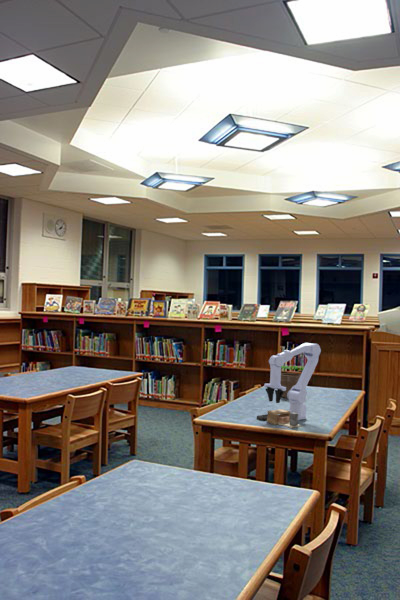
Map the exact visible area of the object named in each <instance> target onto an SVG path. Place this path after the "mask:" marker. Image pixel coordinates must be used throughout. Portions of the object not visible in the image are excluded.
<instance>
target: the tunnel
mask: <svg viewBox="0 0 400 600" xmlns="http://www.w3.org/2000/svg"><path fill="white" fill-rule="evenodd" d="M267 414H268V415H267V420H266V423H268V424H271V425H274V426H275V425H276V426H277V425H278V424H277V415H284V416H288V417H289V422H290V411H289V410H286V409H283V408H281V409H280V408H279V409H272V410H267Z"/></svg>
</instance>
